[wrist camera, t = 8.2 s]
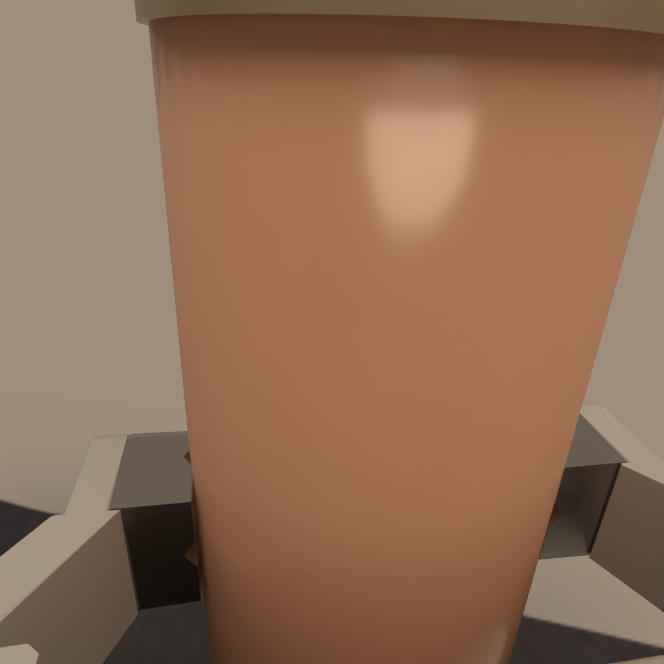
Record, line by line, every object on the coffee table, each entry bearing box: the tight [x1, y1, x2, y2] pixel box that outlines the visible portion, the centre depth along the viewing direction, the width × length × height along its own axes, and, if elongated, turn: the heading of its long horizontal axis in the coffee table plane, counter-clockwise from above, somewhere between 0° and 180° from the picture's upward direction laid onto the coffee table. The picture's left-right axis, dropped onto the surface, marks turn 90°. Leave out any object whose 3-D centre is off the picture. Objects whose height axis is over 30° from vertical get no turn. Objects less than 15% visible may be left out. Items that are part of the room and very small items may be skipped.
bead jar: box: [135, 0, 664, 664], centre depth 9 cm, size 5×5×16 cm
